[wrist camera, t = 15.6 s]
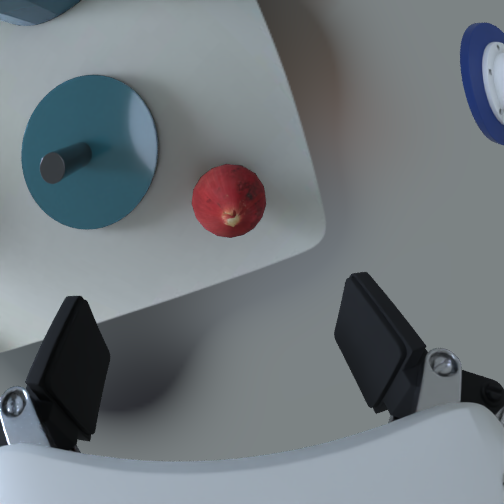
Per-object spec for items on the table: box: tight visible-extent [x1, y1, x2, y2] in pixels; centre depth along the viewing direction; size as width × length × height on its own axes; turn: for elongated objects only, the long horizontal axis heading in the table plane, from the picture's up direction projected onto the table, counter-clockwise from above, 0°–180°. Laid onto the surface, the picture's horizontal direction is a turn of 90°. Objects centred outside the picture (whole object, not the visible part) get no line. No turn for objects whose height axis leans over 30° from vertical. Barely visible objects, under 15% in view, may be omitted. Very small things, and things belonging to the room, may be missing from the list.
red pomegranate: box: [192, 164, 266, 238], centre depth 22 cm, size 6×6×8 cm
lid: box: [22, 75, 158, 229], centre depth 19 cm, size 15×15×7 cm
